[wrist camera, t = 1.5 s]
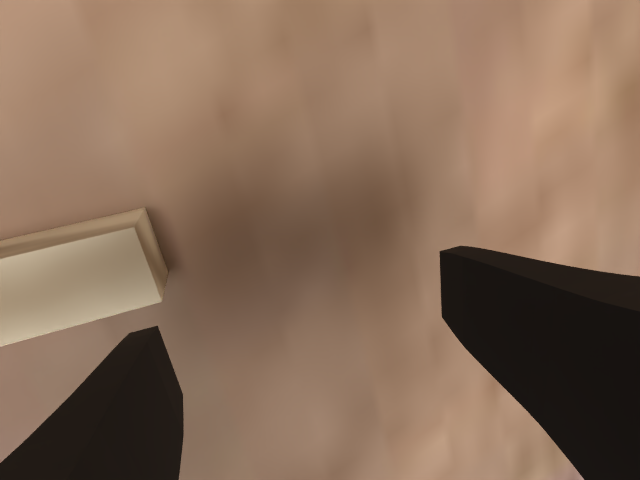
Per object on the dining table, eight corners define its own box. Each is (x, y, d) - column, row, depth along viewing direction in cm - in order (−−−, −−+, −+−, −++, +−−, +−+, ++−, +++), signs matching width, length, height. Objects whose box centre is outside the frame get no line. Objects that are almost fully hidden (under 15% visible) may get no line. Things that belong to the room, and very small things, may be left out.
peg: (168, 270, 18) (162, 301, 16) (-47, 326, 17) (-100, 374, 14) (146, 205, 17) (133, 227, 14) (-89, 259, 15) (-157, 296, 13)
